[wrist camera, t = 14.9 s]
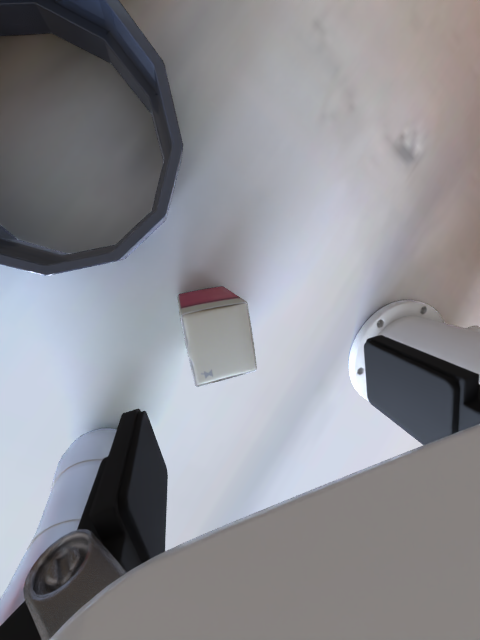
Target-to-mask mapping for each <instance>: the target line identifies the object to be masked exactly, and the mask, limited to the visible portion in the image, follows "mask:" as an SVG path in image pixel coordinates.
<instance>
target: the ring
mask: <svg viewBox="0 0 480 640" xmlns="http://www.w3.org/2000/svg"><path fill="white" fill-rule="evenodd" d="M46 33H52V34H54V35H56V36H58V37H60V38H62V39H64V40H66V41H68V42H70V43H72V44H74V45H76V46H78V47H80V48H82V49H84V50H86V51H88V52H90V53H92V54H94V55H96V56H98V57H99V58H101V59H103V60H105V61H107V62H109V63H111V64H112V65H113V66H114V68H115V69H116V70H117V71H118V73H119V74H120V75H121V76H122V78H123V79H124V80H125V81H126V83H127V84H128V85H129V86H130V88H131V89H132V90H133V91H134V93H135V94H136V95H137V96H138V98H139V99H140V100H141V101H142V103H143V104H144V105H145V106H146V108H147V109H148V110H149V111H150V113H151V115H152V119H153V123H154V127H155V131H156V135H157V139H158V142H159V146H160V150H161V154H162V158H163V162H164V163H163V167H162V171H161V175H160V179H159V183H158V187H157V191H156V196H155V200H154V204H153V208H152V211H151V212H150V213H149V214H148V215H147V216H146V217H145V218H144V219H142V220H141V221H140V222H139V223H138V224H137V225H136V226H135V227H134V228H133V229H132V230H131V231H130V232H129V233H128V234H127V235H126V236H125V237H123V238H122V239H121V240H120V241H119V242H118V243H117V244H116V245H112V246H107V247H102V248H97V249H92V250H87V251H82V252H77V253H72V254H68V253H64V252H61V251H57V250H54V249H50V248H47V247H43V246H39V245H36V244H32V243H29V242H25V241H22V240H18V239H17V238H15V237H14V236H13V235H12V234H11V233H9V232H8V231H7V230H6V229H5V228H3V227H2V226H1V225H0V264H1V265H5V266H9V267H13V268H17V269H21V270H25V271H29V272H33V273H36V274H40V275H44V276H46V275H47V276H49V275H54V274H59V273H63V272H68V271H73V270H77V269H82V268H87V267H92V266H96V265H101V264H106V263H111V262H115V261H120V260H124V259H126V258H127V257H128V256H129V255H130V254H131V253H132V252H133V251H134V250H135V249H136V248H137V247H138V246H140V245H141V244H142V243H143V242H144V241H145V240H146V239H147V238H148V237H149V236H150V235H151V234H152V233H153V232H154V231H155V230H156V229H157V228H158V227H160V226H161V225H162V224H163V223H164V222H165V221H166V219H167V215H168V211H169V207H170V204H171V200H172V196H173V192H174V188H175V184H176V180H177V176H178V172H179V168H180V164H181V159H182V152H183V143H182V139H181V134H180V130H179V126H178V121H177V117H176V113H175V108H174V104H173V100H172V95H171V91H170V87H169V82H168V78H167V74H166V69H165V65H164V63H163V60H162V59H161V58H160V56H159V55H158V53H157V52H156V51H155V49H154V48H153V47H152V45H151V44H150V42H149V41H148V40H147V38H146V37H145V36H144V34H143V33H142V31H141V30H140V29H139V27H138V26H137V25H136V23H135V22H134V20H133V19H132V18H131V16H130V15H129V14H128V12H127V11H126V9H125V8H124V7H123V5H122V4H121V3H120V1H119V0H0V36H9V35H27V34H46Z"/></svg>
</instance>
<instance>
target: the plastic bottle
mask: <svg viewBox="0 0 480 640" xmlns="http://www.w3.org/2000/svg"><path fill="white" fill-rule="evenodd" d="M116 431H117V429H112V428H103V429H97V430H94V431H91V432H88V433H86V434H84V435H82V436H80V437H79V438H77V439H76V440H75V441H74V442H73V443H72V444H71V446H70V447H69V448H68V449H67V451H66V452H65V453H64V454H63V456H62V457H61V459H60V461H59V463H58V466H57V469H56V472H55V475H54V479H53V483H52V488H51V493H50V496H49V499H48V501H47V504H46V507H45V509H44V512H43V515H42V518H41V520H40V523H39V526H38V528H37V531H36V533H35V535H34V537H33V539H32V541H31V543H30V545H29V547H28V549H27V552H26V553H25V555H24V557H23V558H22V560H21V562H20V564H19V566H18V568H17V570H16V572H15V574H14V576H13V578H12V580H11V582H10V583H9V585H8V587H7V589H6V590H5V592H4V594H3V595H2V597H1V598H0V626H1V625H2V624H3V623H4V622H5V620H6V619H7V618H8V617H9V616H10V615H11V614H12V613H13V612H14V611H15V610H16V609H17V608H18V607H19V606H20V605H21V604H22V603H23V602H24V601H25V599H24V593H23V588H24V584H25V580H26V577H27V575H28V573H29V572H30V570H31V568H32V566H33V565H34V563H35V562H36V561H37V559H38V558H39V557H40V555H41V554H42V553H43V552H44V551H45V550H46V549H47V548H48V547H49V546H50V545H51V544H53V543H54V542H55V541H57V540H58V539H59V538H60V537H62V536H64V535H66V534H68V533H70V532H72V531H75V530H77V528H78V525H79V523H80V520H81V517H82V514H83V511H84V508H85V506H86V503H87V500H88V497H89V494H90V492H91V489H92V486H93V483H94V480H95V478H96V475H97V472H98V469H99V466H100V464H101V461H102V460H103V459H104V458H105V457H108V455H109V452H110V449H111V446H112V443H113V440H114V437H115V434H116Z"/></svg>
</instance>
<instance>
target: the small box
mask: <svg viewBox="0 0 480 640" xmlns="http://www.w3.org/2000/svg"><path fill="white" fill-rule="evenodd" d="M177 298H178V305H179V313H180V319H181V324H182V329H183V334H184V339H185V343H186V348H187V353H188V357H189V361H190V365H191V369H192V374H193V378H194V382H195V386H196V387H199V386H202V385H206V384H210V383H214V382H218V381H222V380H226V379H229V378H233V377H236V376H240V375H243V374H246V373H250V372H253V371H256V369H257V367H256V357H255V349H254V342H253V334H252V328H251V322H250V316H249V310H248V304H247V302H246V301H244V300H243V299H241V298H240V297H238V296H237V295H235V294H234V293H232V292H231V291H229V290H228V289H226V288H225V287H223V286H221V287H214V288H208V289H202V290H197V291H192V292H187V293H183V294H179V295H178V297H177Z"/></svg>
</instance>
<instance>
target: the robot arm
mask: <svg viewBox="0 0 480 640" xmlns="http://www.w3.org/2000/svg"><path fill="white" fill-rule="evenodd" d="M349 374H350V378H351V382H352V384H353V386H354V388H355V389H356V390H357V392H358V393H359V394H360V395H361V396H363V397H364V398H365V399H366V400H368V401H369V402H370V403H371V404H372V405H373V406H374V407H375V408H377V409H378V410H379V411H381V412H382V413H383V414H384V415H386V416H387V417H388V418H390V419H391V420H392V421H393V422H395V423H396V424H397V425H399V426H400V427H401V428H402V429H404V430H405V431H406V432H407V433H409V434H410V435H411V436H413V437H414V438H415V439H416V440H418V441H419V442H420V443H422V444H423V445H424V446H421V447H418V448H416V449H413V450H411V451H408V452H406V453H403V454H400V455H398V456H395V457H393V458H390V459H388V460H385V461H383V462H380V463H378V464H375V465H373V466H370V467H368V468H365V469H363V470H360V471H358V472H355V473H353V474H350V475H348V476H345V477H343V478H340V479H338V480H335V481H333V482H330V483H328V484H325V485H323V486H320V487H318V488H315V489H313V490H310V491H308V492H305V493H303V494H300V495H298V496H295V497H293V498H290V499H288V500H286V501H283V502H281V503H278V504H276V505H273V506H271V507H268V508H266V509H263V510H261V511H258V512H256V513H254V514H251V515H249V516H246V517H244V518H241V519H239V520H236V521H234V522H232V523H229V524H227V525H224V526H222V527H220V528H217V529H215V530H212V531H210V532H208V533H205V534H203V535H201V536H198V537H196V538H194V539H192V540H189V541H187V542H185V543H183V544H180V545H178V546H176V547H174V548H172V549H170V550H167V551H165V532H166V506H167V479H168V475H167V468H166V465H165V462H164V459H163V457H162V454H161V451H160V448H159V446H158V443H157V440H156V437H155V435H154V432H153V429H152V426H151V424H150V421H149V418H148V415H147V413H146V411H143V412H141V411H140V409H136V410H133V411H129V412H126V413H123V414H122V416H121V419H120V422H119V425H118V428H117V431H116V434H115V437H114V440H113V443H112V446H111V449H110V452H109V455H108V457H105V458H104V459H103V460H102V461H101V464H100V466H99V469H98V472H97V475H96V478H95V480H94V483H93V486H92V489H91V492H90V494H89V497H88V500H87V503H86V506H85V508H84V511H83V514H82V517H81V520H80V523H79V525H78V528H77V530H75V531H72V532H70V533H68V534H66V535H64V536H62V537H60V538H59V539H58V540H57V541H55V542H54V543H53V544H51V545H50V546H49V547H48V548H47V549H46V550H45V551H44V552H43V553H42V554H41V555H40V557H39V558H38V559H37V561H36V562H35V563H34V565H33V566H32V568H31V570H30V572H29V573H28V575H27V577H26V580H25V584H24V588H23V593H24V599H25V601H24V602H23V603H22V604H21V605H20V606H19V607H18V608H17V609H16V610H15V611H14V612H13V613H12V614H11V615H10V616H9V617H8V618H7V619H6V620H5V622H4V623H3V624H2V625H1V626H0V640H480V327H478V326H471V327H468V328H461V327H457V326H453V325H450V324H446V323H444V320H443V319H442V317H441V315H440V314H439V312H438V311H437V310H436V309H435V308H433V307H432V306H430V305H429V304H426V303H423V302H419V301H413V300H400V301H397V302H393V303H390V304H388V305H386V306H384V307H382V308H381V309H379V310H378V311H377V312H376V313H374V314H373V315H372V316H371V317H370V318H369V319H368V320H367V321H366V322H365V323H364V325H363V326H362V328H361V329H360V331H359V332H358V334H357V336H356V338H355V340H354V342H353V345H352V348H351V352H350V357H349Z"/></svg>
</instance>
